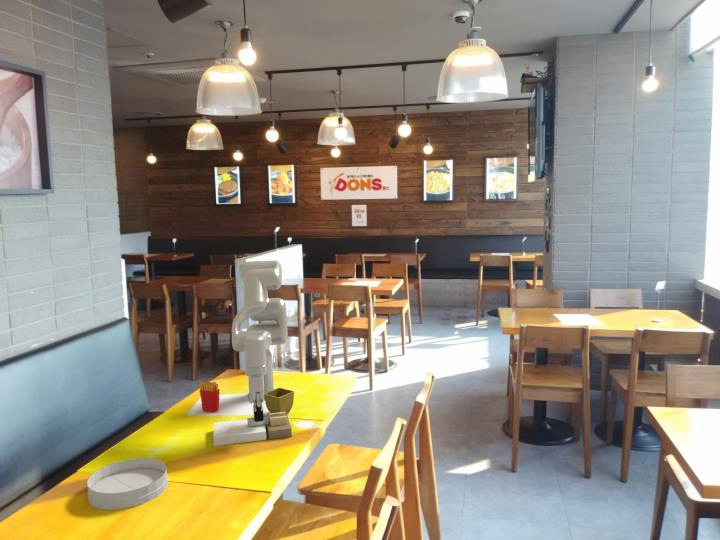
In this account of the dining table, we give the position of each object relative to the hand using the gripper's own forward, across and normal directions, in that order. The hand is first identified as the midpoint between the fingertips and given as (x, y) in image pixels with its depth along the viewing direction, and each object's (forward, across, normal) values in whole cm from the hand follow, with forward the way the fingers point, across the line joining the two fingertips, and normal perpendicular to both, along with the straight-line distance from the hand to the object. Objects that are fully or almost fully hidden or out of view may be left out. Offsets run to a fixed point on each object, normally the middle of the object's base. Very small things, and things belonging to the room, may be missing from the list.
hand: (258, 417), depth 207 cm
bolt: (+2, 0, +2) cm, 3 cm away
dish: (+6, +31, -40) cm, 51 cm away
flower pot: (+6, -16, +9) cm, 19 cm away
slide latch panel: (+6, 0, -3) cm, 6 cm away
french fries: (+6, -29, -18) cm, 35 cm away
